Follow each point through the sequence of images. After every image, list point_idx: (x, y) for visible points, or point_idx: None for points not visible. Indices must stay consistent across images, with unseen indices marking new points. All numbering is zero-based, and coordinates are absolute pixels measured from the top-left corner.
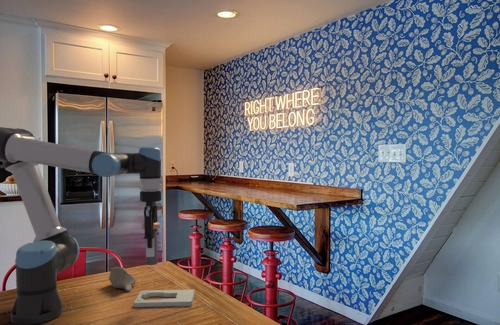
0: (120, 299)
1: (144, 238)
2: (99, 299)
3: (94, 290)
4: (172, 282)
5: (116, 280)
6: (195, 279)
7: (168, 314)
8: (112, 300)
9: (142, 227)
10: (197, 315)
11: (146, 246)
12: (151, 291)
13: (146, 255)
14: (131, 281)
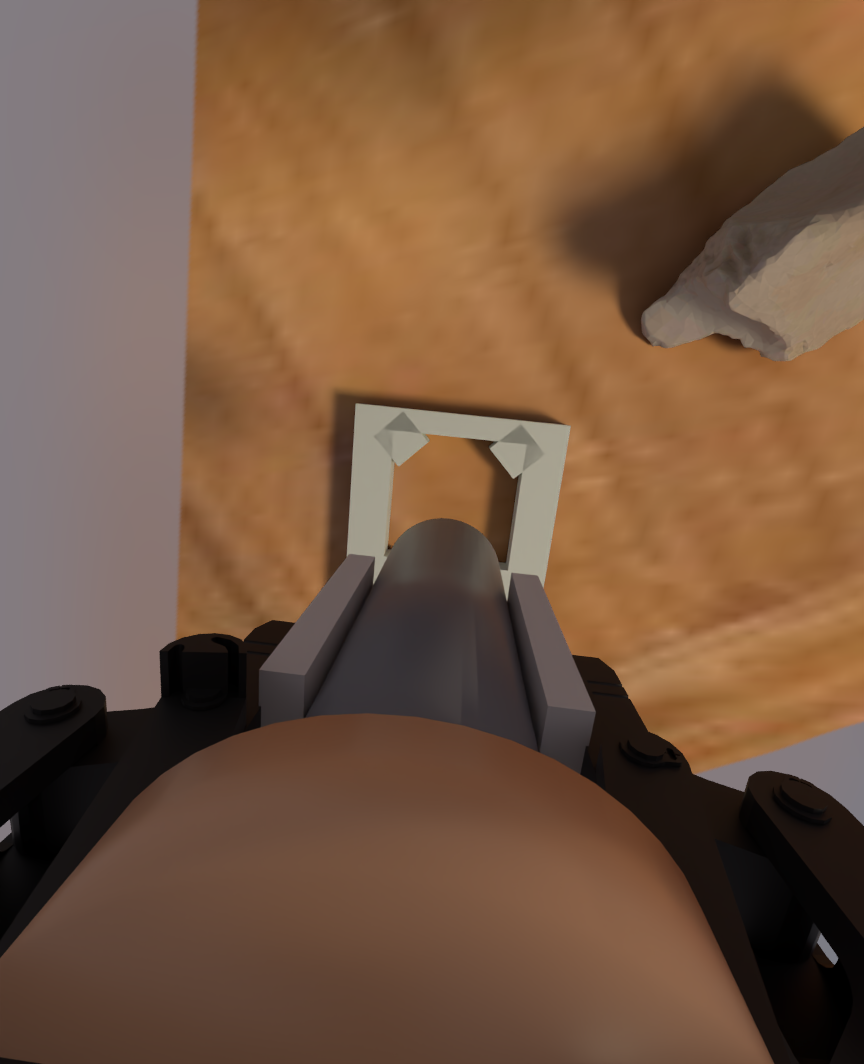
0: (505, 296)
1: (186, 652)
2: (535, 134)
3: (754, 30)
4: (753, 608)
5: (800, 194)
6: (765, 740)
7: (246, 593)
8: (497, 241)
9: (211, 771)
10: None
11: (308, 608)
12: (538, 495)
13: (344, 561)
14: (746, 332)
